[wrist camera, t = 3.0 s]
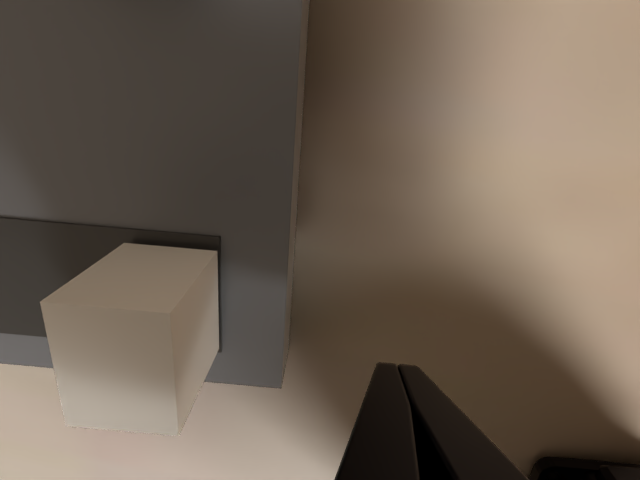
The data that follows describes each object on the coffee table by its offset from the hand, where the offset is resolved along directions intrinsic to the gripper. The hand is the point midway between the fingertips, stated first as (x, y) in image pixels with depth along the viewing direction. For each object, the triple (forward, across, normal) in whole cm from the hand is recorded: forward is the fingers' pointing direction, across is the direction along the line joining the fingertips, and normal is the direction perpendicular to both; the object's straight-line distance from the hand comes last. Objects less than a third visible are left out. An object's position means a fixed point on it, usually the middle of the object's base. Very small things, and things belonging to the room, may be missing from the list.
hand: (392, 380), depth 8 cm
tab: (+2, +6, 0) cm, 6 cm away
